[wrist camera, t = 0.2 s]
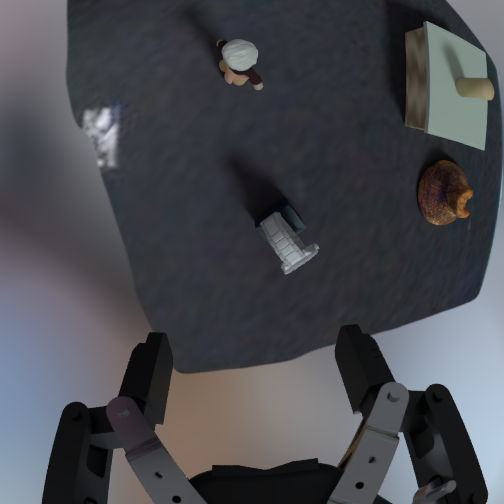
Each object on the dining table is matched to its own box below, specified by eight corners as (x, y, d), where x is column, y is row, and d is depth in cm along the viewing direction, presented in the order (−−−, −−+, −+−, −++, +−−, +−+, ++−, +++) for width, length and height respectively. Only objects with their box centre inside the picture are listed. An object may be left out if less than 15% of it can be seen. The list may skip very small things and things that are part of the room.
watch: (279, 250, 43) (292, 292, 33) (246, 211, 40) (250, 245, 30) (309, 228, 42) (330, 265, 32) (278, 187, 38) (292, 214, 29)
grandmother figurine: (205, 66, 30) (190, 44, 19) (225, 47, 29) (219, 15, 17) (250, 101, 33) (256, 93, 21) (269, 81, 31) (285, 64, 20)
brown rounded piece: (431, 147, 36) (459, 156, 29) (469, 178, 38) (495, 190, 32) (405, 208, 41) (429, 225, 34) (445, 231, 43) (468, 248, 37)
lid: (423, 22, 21) (450, 13, 16) (482, 53, 22) (508, 52, 16) (424, 132, 29) (454, 139, 23) (480, 149, 30) (508, 159, 24)
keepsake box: (404, 33, 27) (426, 26, 21) (458, 56, 27) (480, 54, 22) (404, 125, 34) (427, 129, 29) (456, 139, 35) (479, 145, 29)
